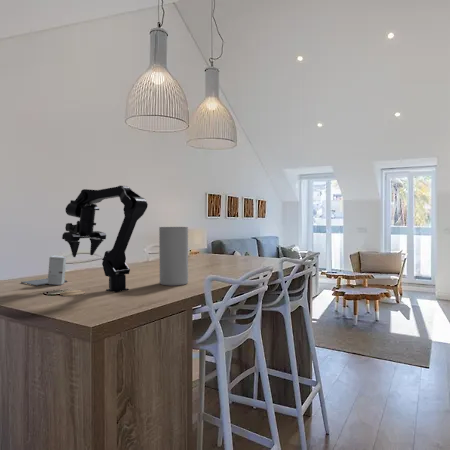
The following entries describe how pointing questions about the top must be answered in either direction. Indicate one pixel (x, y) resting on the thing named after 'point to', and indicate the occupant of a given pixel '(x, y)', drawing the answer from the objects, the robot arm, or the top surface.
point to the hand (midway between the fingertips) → (83, 256)
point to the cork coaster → (72, 293)
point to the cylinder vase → (173, 255)
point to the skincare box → (56, 270)
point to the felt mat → (38, 282)
